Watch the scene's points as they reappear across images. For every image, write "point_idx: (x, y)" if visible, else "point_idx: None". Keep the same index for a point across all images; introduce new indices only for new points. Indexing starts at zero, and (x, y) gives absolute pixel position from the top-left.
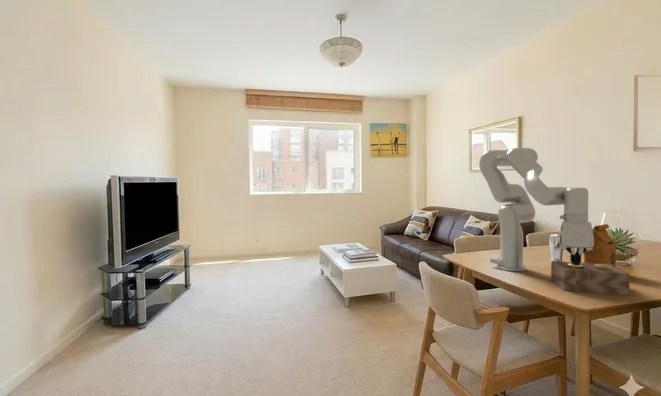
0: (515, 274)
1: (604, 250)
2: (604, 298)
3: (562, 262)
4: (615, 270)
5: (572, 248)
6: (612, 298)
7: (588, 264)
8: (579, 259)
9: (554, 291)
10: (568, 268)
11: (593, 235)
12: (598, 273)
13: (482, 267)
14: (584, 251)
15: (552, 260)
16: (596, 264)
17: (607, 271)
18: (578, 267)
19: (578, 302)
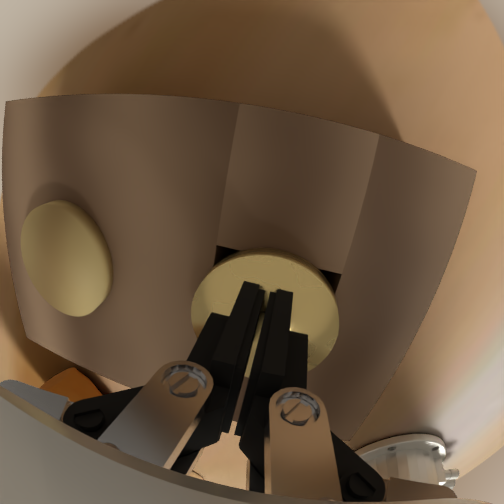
0: (447, 402)
1: None
2: (250, 21)
3: None
4: (28, 179)
5: (312, 492)
6: (204, 28)
7: (124, 351)
8: (233, 316)
9: (467, 137)
10: (399, 226)
11: None
12: (170, 96)
13: (480, 450)
14: (109, 399)
15: None
16: (83, 303)
17: (82, 132)
18: (274, 251)
19: None
